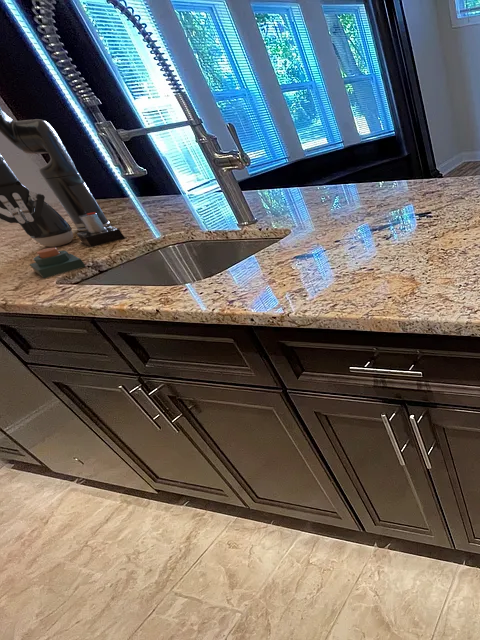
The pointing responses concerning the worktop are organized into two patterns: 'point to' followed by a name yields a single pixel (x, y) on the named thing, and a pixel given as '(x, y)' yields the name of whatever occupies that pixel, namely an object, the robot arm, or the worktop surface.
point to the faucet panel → (100, 236)
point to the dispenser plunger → (48, 252)
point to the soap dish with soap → (56, 264)
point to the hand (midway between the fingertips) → (37, 236)
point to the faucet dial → (92, 222)
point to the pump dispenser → (50, 226)
